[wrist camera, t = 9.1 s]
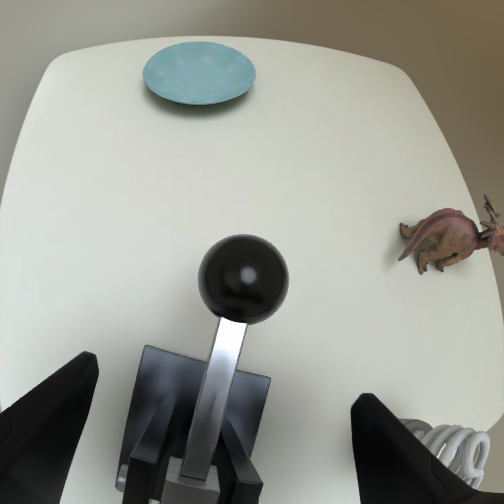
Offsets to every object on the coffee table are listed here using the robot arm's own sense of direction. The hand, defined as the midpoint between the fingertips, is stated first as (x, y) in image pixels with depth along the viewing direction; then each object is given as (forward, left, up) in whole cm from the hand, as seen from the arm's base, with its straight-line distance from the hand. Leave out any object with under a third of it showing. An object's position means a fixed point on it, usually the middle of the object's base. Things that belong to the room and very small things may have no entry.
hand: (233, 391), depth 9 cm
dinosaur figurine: (+15, -19, -12) cm, 27 cm away
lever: (-1, 0, -4) cm, 4 cm away
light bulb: (-4, -15, -12) cm, 20 cm away
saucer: (+26, +9, -12) cm, 30 cm away
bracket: (-6, 0, -12) cm, 14 cm away
